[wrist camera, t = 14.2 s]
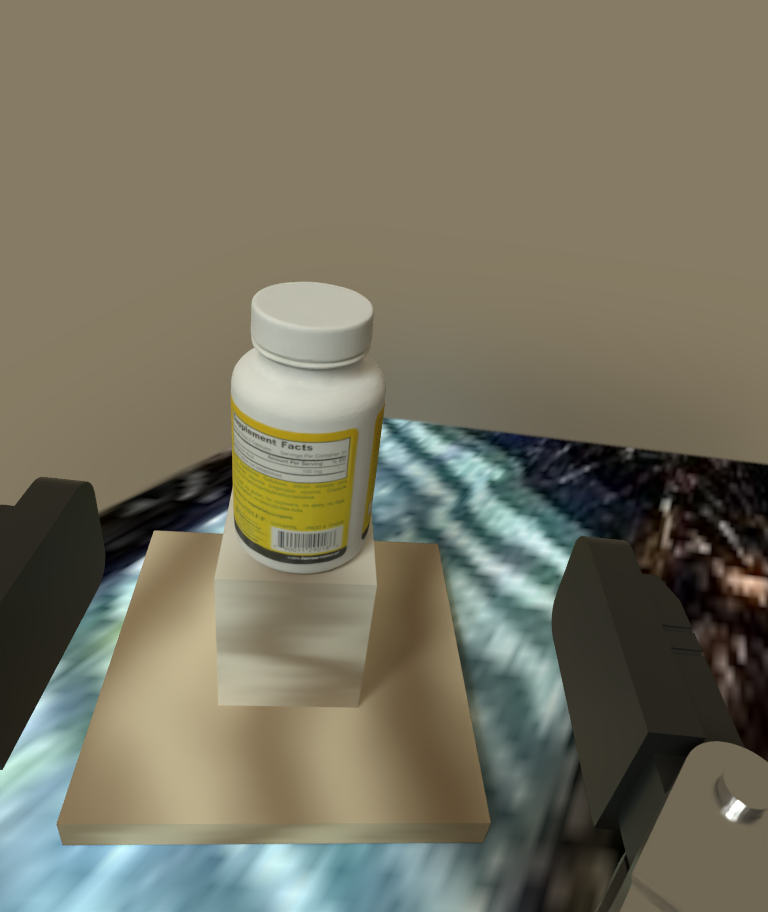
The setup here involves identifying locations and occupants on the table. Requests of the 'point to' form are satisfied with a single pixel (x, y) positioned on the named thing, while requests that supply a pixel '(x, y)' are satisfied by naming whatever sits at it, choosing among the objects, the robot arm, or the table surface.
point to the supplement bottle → (306, 427)
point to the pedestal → (280, 705)
